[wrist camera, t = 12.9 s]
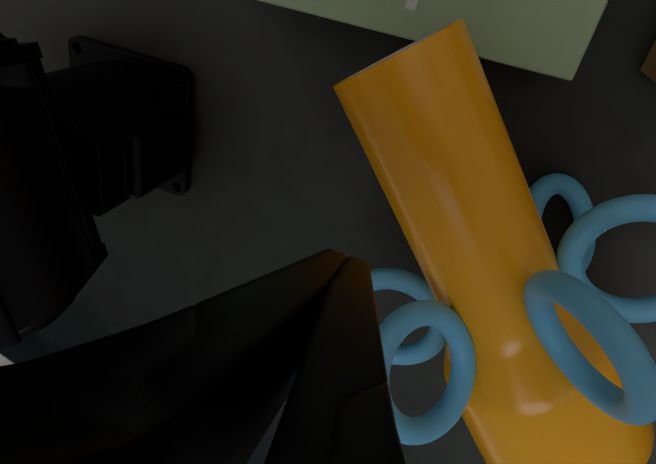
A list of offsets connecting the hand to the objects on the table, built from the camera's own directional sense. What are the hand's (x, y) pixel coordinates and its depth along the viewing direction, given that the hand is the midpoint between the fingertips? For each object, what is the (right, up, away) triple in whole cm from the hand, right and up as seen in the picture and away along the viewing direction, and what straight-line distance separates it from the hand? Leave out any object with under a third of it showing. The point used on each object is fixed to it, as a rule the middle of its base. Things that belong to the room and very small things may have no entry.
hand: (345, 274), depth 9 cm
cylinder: (+9, -7, +9) cm, 14 cm away
